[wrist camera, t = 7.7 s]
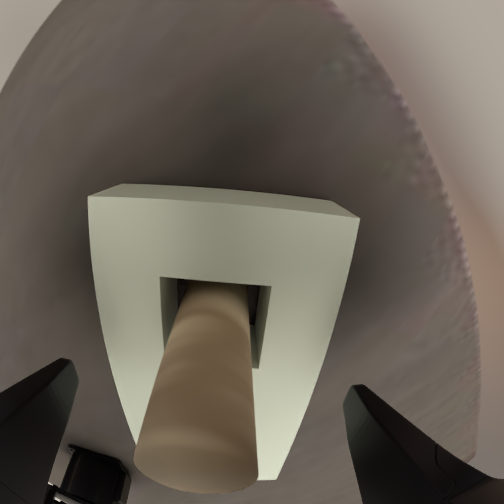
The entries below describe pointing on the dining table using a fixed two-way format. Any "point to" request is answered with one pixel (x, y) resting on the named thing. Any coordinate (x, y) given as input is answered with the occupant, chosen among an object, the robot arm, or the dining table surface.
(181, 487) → the dowel
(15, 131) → the dining table surface
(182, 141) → the dining table surface
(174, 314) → the socket block
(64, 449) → the dining table surface
